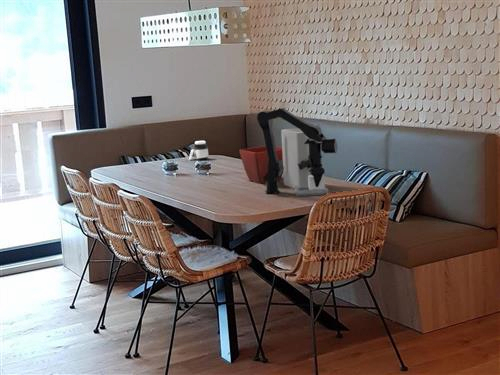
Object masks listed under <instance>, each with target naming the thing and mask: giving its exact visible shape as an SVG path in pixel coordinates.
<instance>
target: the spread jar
mask: <svg viewBox="0 0 500 375" xmlns="http://www.w3.org/2000/svg"><path fill="white" fill-rule="evenodd" d="M193 157H194V158H193ZM192 158H193V159H194V160H195V161H206V160H208V159H209V148H208V146H207V144H206V141H205V140H196V141H195V142H194V145H193V149H191V150H190V154H189V157H188V160H189V161H191V160H192Z"/></svg>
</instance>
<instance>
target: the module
mask: <svg viewBox="0 0 500 375" xmlns="http://www.w3.org/2000/svg"><path fill="white" fill-rule="evenodd" d="M308 185H309V189H310V190H313V189H325V186H326V185H325V176H324V175H323V176H322V178H321V181H320V183H319V186H318V187H316V186H315V181H314V176H313V175H308Z"/></svg>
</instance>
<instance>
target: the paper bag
mask: <svg viewBox="0 0 500 375" xmlns="http://www.w3.org/2000/svg"><path fill="white" fill-rule="evenodd" d="M280 131H281V148H282V154H283V167H284V169H283V174H282V177H283V185H284V186H285V187H289V188H293V189H294V188H295V185H298V187H309V185H308V175H311V174H310V172H309V171H308V170H310V168H309V169H308V168H307V167H306V168H304V169H302V170H300V169H299V167H298V164H297V163H298V162H300V161H302V160H305V159H307V158H308V156H309V144H304V142H306V141H307V139H308V137H307V136H306V135H305V134H304V133H303V132H302V131H301V130H300V129H299V128H285V129H281V130H280ZM309 139H310V138H309ZM310 140H312V139H310ZM313 140H314V139H313Z"/></svg>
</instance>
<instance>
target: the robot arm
mask: <svg viewBox="0 0 500 375" xmlns="http://www.w3.org/2000/svg"><path fill="white" fill-rule="evenodd" d="M277 118H282V120H284V121H286V122H287V123H289V124H290V125H292V126H294V127H295V128H296V129H300V130H301V131H302V132H303V133H304V134H305V135H306V136H307V137H308V139H307V141H306V142H304V144H309V156H308V158H307V159H305V160H302V161H300V162H298V163H297V164H298V167H299V169H300V170H302V169H304V168H306V167H307V168H308V169H309V168H310V170H308V171H309V172H310V174H311V175H313V176H314V181H315V186H316V187H318V186H319V183H320V181H321V178H322V176H324V174H325V172H326V170H325V168H324V167H323V164H322V158H323V156H322V152H323V154H337V152H338V142H337V138H326V136H325V135H324V133H323V132H322V129H321V127H320V126H318V125H316V124H313V123H309V122H306V121H304V120H303V119H301V118H300V117H298V116H296V114H294V113H292V112H290V111H288V110H287V109H286V108H284V107H281V108H280V107H279V108H277V109H274V110H271V111H270V110H267V109H266V110H263V111H260V112H258V114H257V116H256V120H257V122H258V125H259V127H260V128H261V130H262V134H263V140H264V144H265V146H266V150H267V155H268V173H267V174H266V175H265V176H264V177H263V178H264V181H266V182H265V187H266V188H265V189H266V190H265V194H266V195H267V194H268V195H270V194H280V190H279V181H278V178H279V176H280V175H281V174H282V172H283V169H284V167H283V161H282V160H281V161H279V159H278V157H277V152H276V147H277V146H276V144H275V143H276V142H275V138H274V134H273V124H274V123H273V122H274V120H273V119H277ZM309 138H310V139H312V140H310V139H309ZM313 139H314V140H313ZM282 175H283V174H282Z"/></svg>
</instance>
